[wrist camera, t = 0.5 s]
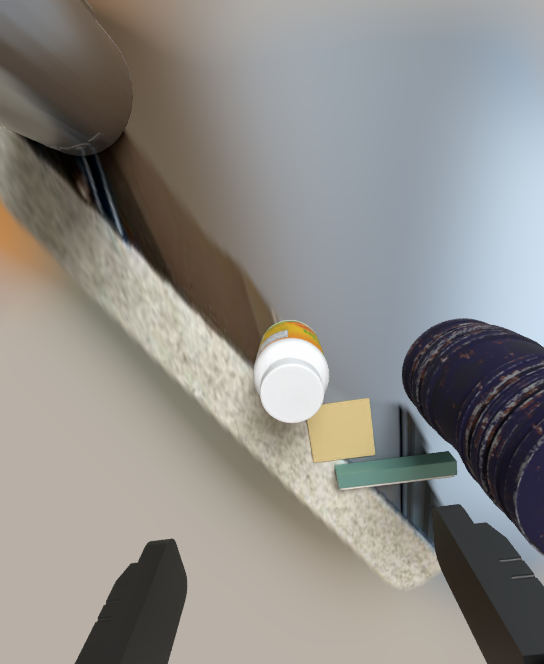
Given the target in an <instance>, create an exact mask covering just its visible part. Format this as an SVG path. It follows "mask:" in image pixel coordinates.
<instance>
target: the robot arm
mask: <svg viewBox="0 0 544 664" xmlns="http://www.w3.org/2000/svg"><path fill="white" fill-rule="evenodd" d="M132 99H133V96H132V82H131V78H130V74H129V70H128V67H127V65H126V63H125V60H124V58H123V56H122V54H121V52H120V51H119V49H118V48H117V46H116V45H115V43H114V42H113V40H112V39H111V38H110V37H109V36H108V34H107V33H106V32H105V31H104V29H103V28H102V27H101V26H100V25H99V23H98V22H97V21H96V18H95V14H94V11H93V9H92V8H91V7H90V5H89V4H88V3H87V2H86V0H0V126H2V127H5V128H7V129H9V130H11V131H14V132H16V133H18V134H21V135H23V136H25V137H28V138H30V139H32V140H35V141H37V142H39V143H41V144H44V145H45V146H47V147H49V148H53V149H55V150H58V151H60V152H63V153H66V154H69V155H76V156H85V155H93V154H96V153H98V152H101V151H103V150H105V149H106V148H108V147H109V146H111V145H112V144H113V143H114V142H115V141H116V140H117V139H118V138H119V137H120V136H121V134H122V132H123V130H124V129H125V127H126V125H127V123H128V120H129V116H130V113H131V108H132ZM432 517H433V531H434V544H435V551H436V555H437V559H438V562H439V565H440V568H441V570H442V572H443V574H444V576H445V578H446V581H447V583H448V585H449V587H450V589H451V591H452V593H453V595H454V597H455V599H456V601H457V603H458V605H459V607H460V609H461V611H462V613H463V615H464V617H465V619H466V621H467V623H468V625H469V628H470V629H471V632H472V634H473V636H474V638H475V639H476V642H477V644H478V646H479V648H480V650H481V652H482V654H483V656H484V658H485V660H486V662H487V664H544V586H543V585H542V584H541V582H540V581H539V580H538V578H535V576H534V573H533V572H532V571H531V569H530V568H529V567H528V566H527V564H526V563H525V562H524V561H522V559H521V556H520V555H519V554H518V552H517V551H516V550H515V549H514V547H513V546H512V545H511V543H510V542H509V541H508V539H507V538H506V537H505V536H503V535H502V534H501V533H499V532H498V531H497V530H495V529H494V528H492V526H490V525H489V524H488V523H478V524H474V523H473V521H472V520H471V518H470V517H469V515H468V514H467V513H466V511H465V510H464V508H463V507H462V506H461V505H459V504H457V505H449V506H440V507H433V509H432ZM186 594H187V576H186V572H185V569H184V566H183V563H182V560H181V557H180V554H179V551H178V548H177V545H176V542H175V540H174V539H166V540H158V541H150V542H148V543H147V545H146V546H145V548H144V550H143V552H142V554H141V557H140V559H139V561H138V563H132V564H130V565H129V566H128V568H127V569H126V570H125V571H124V573H123V574H122V575H121V576H120V577H119V578H118V579H117V581H116V582H115V584H114V586H113V588H112V590H111V593H110V594H109V596H108V599H107V600H106V605H104V606H103V608H102V610H101V613H100V614H99V616H98V621H97V622H96V623H95V625H94V626H93V628H92V630H91V632H90V634H89V636H88V638H87V640H86V642H85V644H84V646H83V649H82V650H81V653H80V654H79V656H78V659H77V660H76V662H75V664H168V661H169V657H170V653H171V650H172V646H173V642H174V639H175V635H176V632H177V628H178V625H179V621H180V617H181V614H182V610H183V606H184V603H185V599H186Z"/></svg>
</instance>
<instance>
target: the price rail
mask: <svg viewBox="0 0 544 664" xmlns="http://www.w3.org/2000/svg"><path fill="white" fill-rule="evenodd" d="M335 470H336V477H337V482H338V486H339V489H341V490H346V489H354V488H363V487H371V486H380V485H388V484H397V483H405V482H414V481H422V480H431V479H439V478H448V477H454V475H457V461H456V460H455V459H454V457H453V456H452V455H451V454H450V453H449V451H446V452H438V453H430V454H422V455H414V456H406V457H398V458H389V459H381V460H373V461H365V462H357V463H349V464H341V465H335Z"/></svg>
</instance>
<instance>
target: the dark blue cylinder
mask: <svg viewBox="0 0 544 664" xmlns="http://www.w3.org/2000/svg"><path fill="white" fill-rule="evenodd" d="M402 368H403V369H402V381H403V385H404V389H405V392H406V393H407V395H408V397H409V399H410V400H411V401H412V402H413V404H414V405H415V406H416V407H417V409H418V411H419V413H420V414H421V415H422V416H423V418H424V419H425V420H426V422H427V423H428V424H429V425H430V426H431V427H432V428H433V429H435V430H436V431H437V433H438V434H439V435H440V436H441V437H442V438H443V439H444V440H445V441H447V442H448V443H450V444H451V445H452V446H453V447H454V448H455V449H456V450H457V452H458V453H459V455H460V457H461V459H462V461H463V463H464V464H465V467H466V469H467V470H468V472H469V473H470V474H471V476H472V477H473V479H474V480H476V481H477V482H478V484H479V485H480V486H481V488H482V489H483V490H484V492H485V493H486V494H487V495H488V496H489V498H490V499H491V500H492V501H493V503H494V504H495V505H496V506H497V507H498V508H499V509H500V510H501V511H502V512H504V513H505V514H506V516H507V517H508V518H509V519H510V520H511V521H512V522H513V523H514V524H515V526H516V527H517V528H518V530H519V531H520V532H521V534H522V535H523V536H524V537H525V538H526V540H527V541H528V542H529V543H530V544H531V545H532V546H533V547H534V548H535V549H536V550H537V551H538V552H539V553H540V554H542V555H543V556H544V347H542V346H541V345H540V344H538V343H537V342H535V341H533V340H531V339H529V338H526V337H524V336H522V335H520V334H517V333H515V332H513V331H511V330H508V329H505V328H502V327H499V326H495V325H489V324H487V323H485V322H482V321H478V320H474V319H453V320H448V321H445V322H442V323H439V324H437V325H435V326H433V327H431V328H430V329H428V330H427V331H425V332H424V333H423V334H422V335H421V336H419V337H418V338H417V339H416V341H415V342H414V343H413V344H412V346H411V347H410V349H409V351H408V352H407V355H406V357H405V359H404V363H403V367H402Z"/></svg>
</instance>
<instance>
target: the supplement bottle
mask: <svg viewBox="0 0 544 664" xmlns="http://www.w3.org/2000/svg"><path fill="white" fill-rule="evenodd" d="M253 379H254V384H255V388H256V390H257V392H258V394H259V396H260V398H261V402H262V405H263V407H264V408H265V410H266V411H267V412H268V413H269V414H270V415H271V416H272V417H273V418H275V419H277V420H279V421H282V422H286V423H298V422H302V421H305V420H307V419H309V418H311V417H312V416H313V415H315V414H316V412H317V411H318V410H319V409H320V407H321V405H322V403H323V399H324V393H325V392H326V389H327V387H328V383H329V369H328V365H327V362H326V359H325V356H324V354H323V351H322V348H321V345H320V342H319V340H318V338H317V336H316V334H315V332H314V331H313V330H312V329H311V328H310V327H309V326H307V325H306V324H304V323H302V322H299V321H295V320H285V321H281V322H278V323H276V324H274V325H273V326H271V327H270V328H269V329H268V330H267V331H266V332H265V334H264V335H263V337H262V340H261V342H260V346H259V350H258V353H257V358H256V361H255V365H254V372H253Z"/></svg>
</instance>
